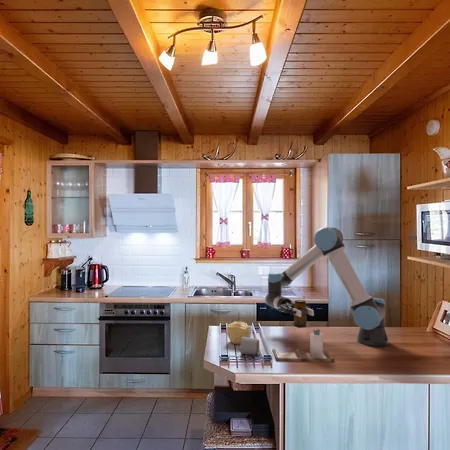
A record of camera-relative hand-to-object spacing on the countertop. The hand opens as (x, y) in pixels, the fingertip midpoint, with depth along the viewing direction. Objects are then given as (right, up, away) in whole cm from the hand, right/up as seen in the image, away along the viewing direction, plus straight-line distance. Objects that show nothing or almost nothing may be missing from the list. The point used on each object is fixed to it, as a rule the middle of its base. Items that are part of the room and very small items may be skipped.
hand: (306, 313), depth 170 cm
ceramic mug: (-28, -18, -3) cm, 33 cm away
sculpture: (-32, -18, +12) cm, 39 cm away
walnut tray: (-5, -18, -10) cm, 21 cm away
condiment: (-2, -7, +5) cm, 9 cm away
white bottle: (+2, -17, -10) cm, 20 cm away
